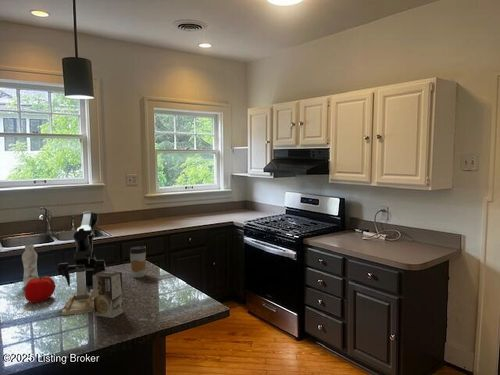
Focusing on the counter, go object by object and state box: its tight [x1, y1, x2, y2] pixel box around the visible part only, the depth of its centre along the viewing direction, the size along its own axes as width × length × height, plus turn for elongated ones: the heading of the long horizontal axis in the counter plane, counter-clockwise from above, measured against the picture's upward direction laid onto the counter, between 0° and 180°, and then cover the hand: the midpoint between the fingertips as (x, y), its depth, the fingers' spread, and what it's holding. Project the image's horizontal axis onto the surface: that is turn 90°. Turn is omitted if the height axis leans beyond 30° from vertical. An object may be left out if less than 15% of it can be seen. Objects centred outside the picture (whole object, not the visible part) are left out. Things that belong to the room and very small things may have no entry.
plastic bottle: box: [21, 243, 39, 287], centre depth 176 cm, size 6×7×20 cm
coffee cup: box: [129, 245, 147, 279], centre depth 190 cm, size 8×8×15 cm
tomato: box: [24, 275, 56, 303], centre depth 157 cm, size 11×13×10 cm
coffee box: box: [92, 270, 124, 319], centre depth 141 cm, size 9×6×16 cm
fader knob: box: [74, 266, 90, 299], centre depth 155 cm, size 4×5×13 cm
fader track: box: [61, 289, 94, 316], centre depth 152 cm, size 19×11×3 cm, turn 18°
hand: (80, 285), depth 154 cm, fingers open, 9 cm apart
